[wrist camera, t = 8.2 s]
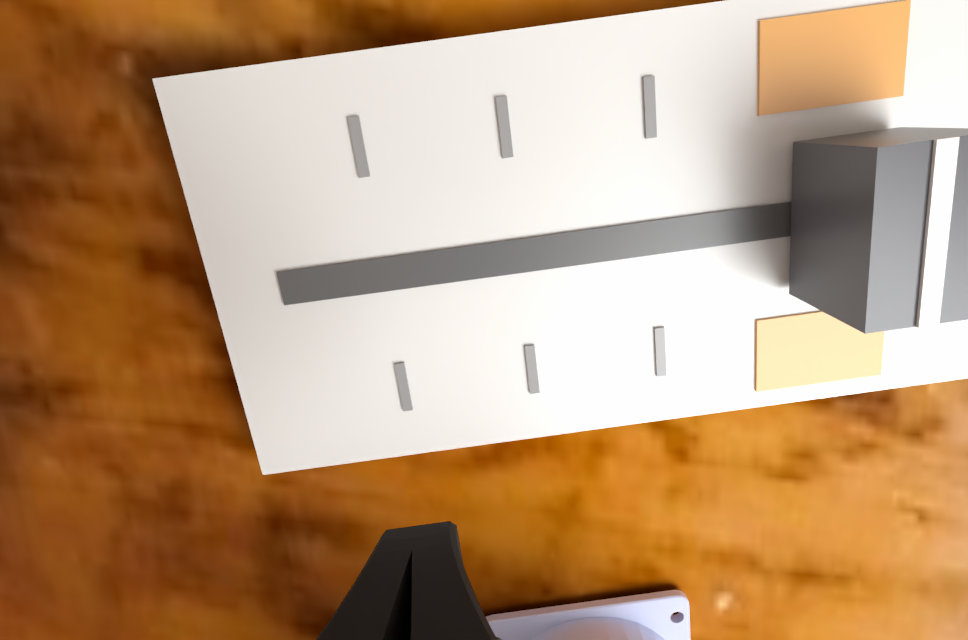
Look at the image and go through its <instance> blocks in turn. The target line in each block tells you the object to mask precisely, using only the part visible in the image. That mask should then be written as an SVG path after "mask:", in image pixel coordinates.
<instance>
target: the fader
mask: <svg viewBox="0 0 968 640" xmlns="http://www.w3.org/2000/svg"><path fill="white" fill-rule="evenodd" d="M789 294H790V295H792V296H794V297H796V298H798V299H800V300H802V301H803V302H805V303H807V304H809V305H811V306H813V307H815V308H817V309H819V310H821V311H822V312H824V313H826V314H828V315H830V316H832V317H834V318H836V319H838V320H840V321H842V322H843V323H845V324H847V325H849V326H851V327H853V328H855V329H857V330H859V331H861V332H862V333H864V334H867V333H874V332H881V331H889V330H896V329H903V328H911V327H917V328H923V327H930V326H938V325H939V324H940V323H947V322H954V321H962V320H968V128H925V127H897V128H890V129H883V130H875V131H868V132H861V133H853V134H846V135H839V136H832V137H824V138H817V139H810V140H802V141H795V142H793V161H792V198H791V235H790V272H789Z"/></svg>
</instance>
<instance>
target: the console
mask: <svg viewBox="0 0 968 640" xmlns="http://www.w3.org/2000/svg"><path fill="white" fill-rule="evenodd" d="M152 80H153V84H154V87H155V91H156V94H157V98H158V102H159V105H160V109H161V112H162V116H163V119H164V123H165V127H166V130H167V134H168V137H169V141H170V145H171V148H172V152H173V155H174V159H175V162H176V166H177V170H178V173H179V177H180V180H181V184H182V188H183V191H184V195H185V198H186V202H187V206H188V209H189V213H190V216H191V220H192V223H193V227H194V231H195V234H196V238H197V241H198V245H199V249H200V252H201V256H202V259H203V263H204V266H205V270H206V274H207V277H208V281H209V284H210V288H211V292H212V295H213V299H214V302H215V306H216V309H217V313H218V317H219V320H220V324H221V327H222V331H223V335H224V338H225V342H226V345H227V349H228V353H229V356H230V360H231V363H232V367H233V370H234V374H235V378H236V381H237V385H238V388H239V392H240V396H241V399H242V403H243V406H244V410H245V413H246V417H247V421H248V424H249V428H250V431H251V435H252V439H253V442H254V446H255V449H256V453H257V456H258V460H259V464H260V467H261V471H262V474H263V475H267V474H274V473H281V472H289V471H296V470H303V469H311V468H318V467H325V466H332V465H340V464H347V463H354V462H362V461H369V460H376V459H383V458H391V457H398V456H405V455H413V454H420V453H427V452H434V451H442V450H449V449H456V448H464V447H471V446H478V445H485V444H493V443H500V442H507V441H515V440H522V439H529V438H536V437H544V436H551V435H558V434H566V433H573V432H580V431H587V430H595V429H602V428H609V427H617V426H624V425H631V424H638V423H646V422H653V421H660V420H668V419H675V418H682V417H689V416H697V415H704V414H711V413H719V412H726V411H733V410H740V409H748V408H755V407H762V406H770V405H777V404H784V403H791V402H799V401H806V400H813V399H821V398H828V397H835V396H842V395H850V394H857V393H864V392H872V391H879V390H886V389H894V388H901V387H908V386H915V385H923V384H930V383H937V382H945V381H952V380H959V379H966V378H968V320H962V321H954V322H947V323H940V324H939V325H938V326H930V327H923V328H917V327H911V328H903V329H896V330H889V331H881V332H874V333H867V334H864V333H862V332H861V331H859V330H857V329H855V328H853V327H851V326H849V325H847V324H845V323H843V322H842V321H840V320H838V319H836V318H834V317H832V316H830V315H828V314H826V313H824V312H822V311H821V310H819V309H817V308H815V307H813V306H811V305H809V304H807V303H805V302H803V301H802V300H800V299H798V298H796V297H794V296H792V295H790V294H789V272H790V235H791V198H792V161H793V142H795V141H802V140H810V139H817V138H824V137H832V136H839V135H846V134H853V133H861V132H868V131H875V130H883V129H890V128H897V127H925V128H968V0H725V1H718V2H710V3H703V4H696V5H688V6H681V7H674V8H666V9H659V10H652V11H644V12H637V13H630V14H622V15H615V16H608V17H600V18H593V19H586V20H578V21H571V22H564V23H556V24H549V25H542V26H534V27H527V28H520V29H512V30H505V31H498V32H490V33H483V34H476V35H468V36H461V37H454V38H446V39H439V40H432V41H424V42H417V43H410V44H402V45H395V46H388V47H380V48H373V49H366V50H359V51H351V52H344V53H337V54H329V55H322V56H315V57H307V58H300V59H293V60H285V61H278V62H271V63H263V64H256V65H249V66H241V67H234V68H227V69H219V70H212V71H205V72H197V73H190V74H183V75H175V76H168V77H161V78H153V79H152Z"/></svg>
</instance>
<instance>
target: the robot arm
mask: <svg viewBox="0 0 968 640" xmlns="http://www.w3.org/2000/svg"><path fill="white" fill-rule="evenodd" d="M675 612H679V613H678V614H676V615H672V614H673V613H675ZM496 637H499V639H497V638H496ZM316 640H690V610H689V601H688V599H687V597H686V595H685V594H684V593H683V592H682V591H680V590H668V591H661V592H653V593H646V594H639V595H632V596H624V597H617V598H610V599H602V600H595V601H588V602H581V603H573V604H566V605H559V606H552V607H544V608H537V609H530V610H522V611H515V612H508V613H501V614H493V615H489V616H486V617H485V615H484V613H483V611H482V609H481V607H480V605H479V603H478V601H477V598H476V596H475V594H474V591H473V589H472V586H471V584H470V582H469V579H468V577H467V574H466V571H465V569H464V566H463V561H462V555H461V549H460V543H459V537H458V532H457V526H456V525H455V524H453V523H452V522H450V521H448V522H441V523H434V524H427V525H419V526H412V527H405V528H397V529H390V530H386V531H385V533H384V534H383V535H382V536H381V538H380V540H379V542H378V543H377V545H376V547H375V549H374V551H373V552H372V554H371V556H370V558H369V559H368V561H367V563H366V564H365V566H364V568H363V570H362V571H361V573H360V574H359V576H358V578H357V579H356V581H355V583H354V584H353V586H352V587H351V589H350V591H349V592H348V594H347V595H346V597H345V598H344V600H343V601H342V603H341V605H340V606H339V608H338V609H337V611H336V612H335V614H334V615H333V617H332V618H331V620H330V621H329V622H328V624H327V625H326V627H325V628H324V629H323V631H322V632H321V633H320V635H319V636H318V638H317V639H316Z"/></svg>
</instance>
